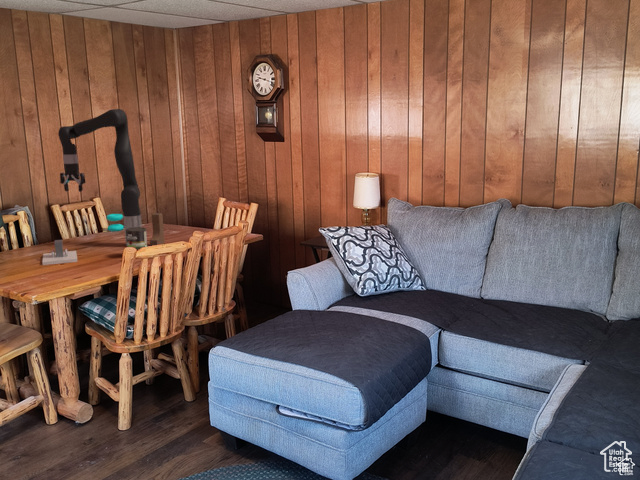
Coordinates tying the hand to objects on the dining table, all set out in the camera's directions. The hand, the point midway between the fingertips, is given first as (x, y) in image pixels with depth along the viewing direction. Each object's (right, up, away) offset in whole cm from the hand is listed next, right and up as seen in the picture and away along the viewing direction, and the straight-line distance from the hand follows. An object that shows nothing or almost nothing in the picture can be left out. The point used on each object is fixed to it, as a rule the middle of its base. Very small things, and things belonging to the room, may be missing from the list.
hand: (73, 191), depth 339 cm
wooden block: (+48, -31, -4) cm, 58 cm away
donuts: (+9, -21, +45) cm, 50 cm away
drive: (+6, -36, -31) cm, 48 cm away
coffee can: (+44, -36, -25) cm, 62 cm away
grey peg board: (+6, -37, -31) cm, 49 cm away
